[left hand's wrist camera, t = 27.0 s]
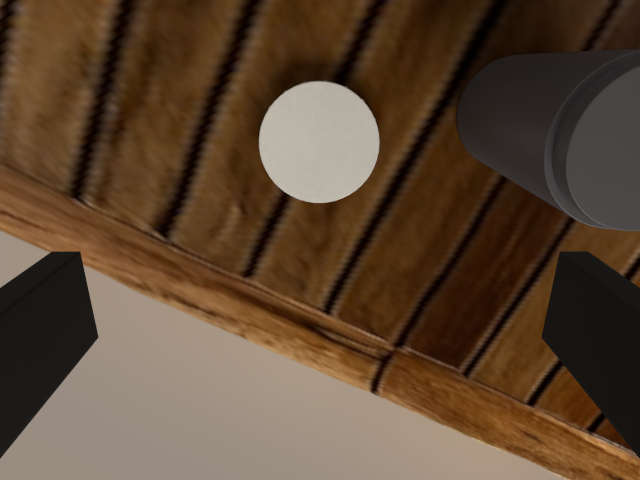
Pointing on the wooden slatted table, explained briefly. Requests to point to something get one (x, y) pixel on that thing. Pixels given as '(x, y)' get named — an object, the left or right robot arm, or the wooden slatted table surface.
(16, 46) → the wooden slatted table surface
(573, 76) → the jar
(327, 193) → the lid
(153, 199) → the wooden slatted table surface
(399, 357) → the wooden slatted table surface
